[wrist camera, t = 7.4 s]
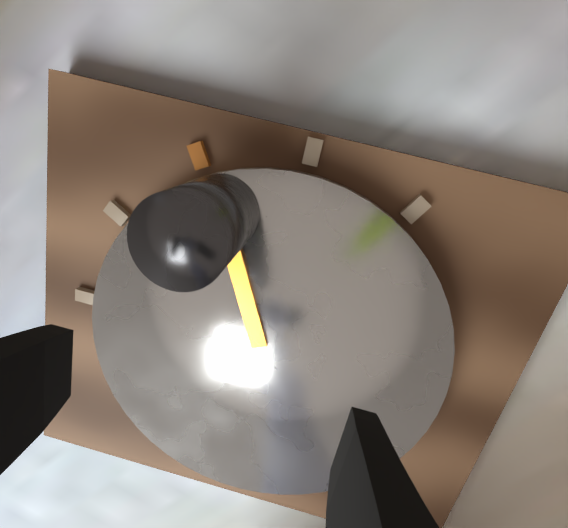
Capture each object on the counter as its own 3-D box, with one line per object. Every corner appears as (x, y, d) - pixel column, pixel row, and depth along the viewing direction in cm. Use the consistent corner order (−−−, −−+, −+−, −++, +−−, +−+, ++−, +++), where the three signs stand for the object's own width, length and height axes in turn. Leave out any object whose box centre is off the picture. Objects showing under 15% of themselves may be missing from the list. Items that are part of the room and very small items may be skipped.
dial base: (426, 528, 22) (431, 555, 21) (58, 420, 23) (40, 438, 22) (590, 198, 16) (614, 204, 14) (68, 72, 17) (43, 67, 15)
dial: (467, 469, 19) (513, 595, 14) (163, 490, 22) (110, 598, 17) (423, 122, 14) (468, 118, 9) (49, 212, 18) (-69, 246, 12)
